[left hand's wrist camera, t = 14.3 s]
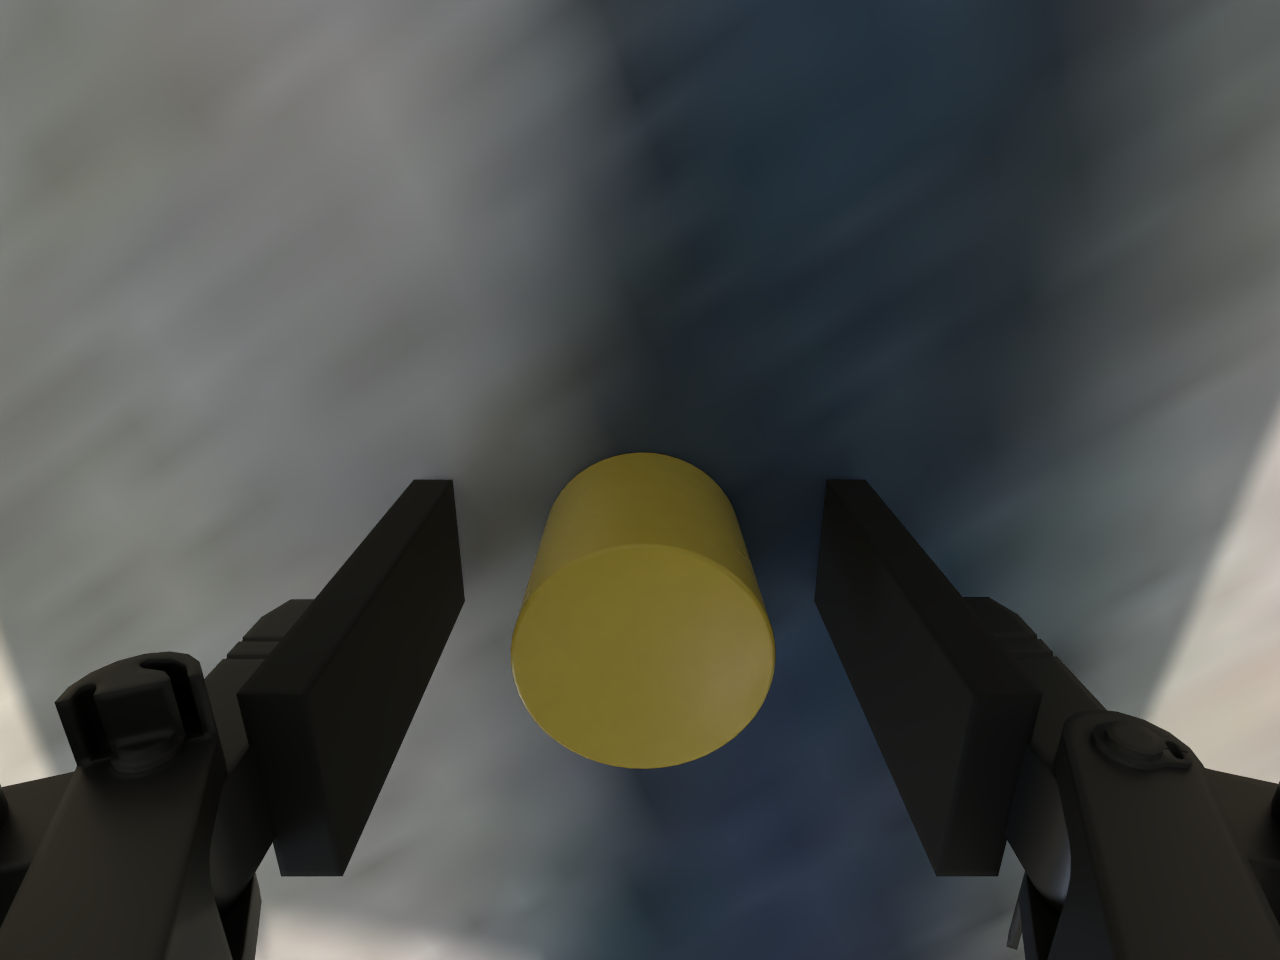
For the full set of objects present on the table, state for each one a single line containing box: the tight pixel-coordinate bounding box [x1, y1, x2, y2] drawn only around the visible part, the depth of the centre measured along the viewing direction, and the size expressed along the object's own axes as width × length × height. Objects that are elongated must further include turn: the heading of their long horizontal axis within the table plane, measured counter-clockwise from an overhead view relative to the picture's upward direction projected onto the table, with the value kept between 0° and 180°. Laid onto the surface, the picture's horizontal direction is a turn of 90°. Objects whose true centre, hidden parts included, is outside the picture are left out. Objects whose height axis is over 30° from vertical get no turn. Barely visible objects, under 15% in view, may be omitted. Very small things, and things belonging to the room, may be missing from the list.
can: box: [511, 453, 776, 769], centre depth 13 cm, size 4×4×4 cm
